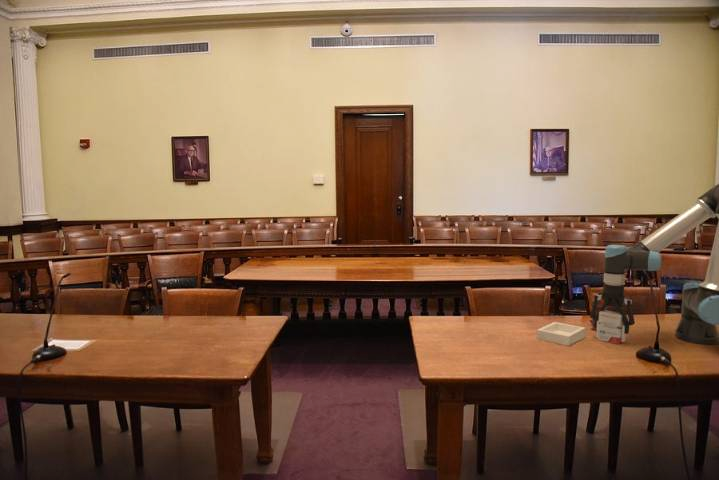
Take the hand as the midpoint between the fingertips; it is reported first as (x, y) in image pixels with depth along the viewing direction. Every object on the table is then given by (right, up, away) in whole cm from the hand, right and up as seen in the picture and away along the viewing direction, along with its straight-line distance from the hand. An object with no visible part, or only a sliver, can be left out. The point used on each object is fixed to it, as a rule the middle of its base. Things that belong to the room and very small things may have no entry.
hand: (610, 338), depth 200 cm
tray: (-18, 0, +4) cm, 19 cm away
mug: (+4, +1, +18) cm, 18 cm away
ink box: (0, -1, 0) cm, 1 cm away
